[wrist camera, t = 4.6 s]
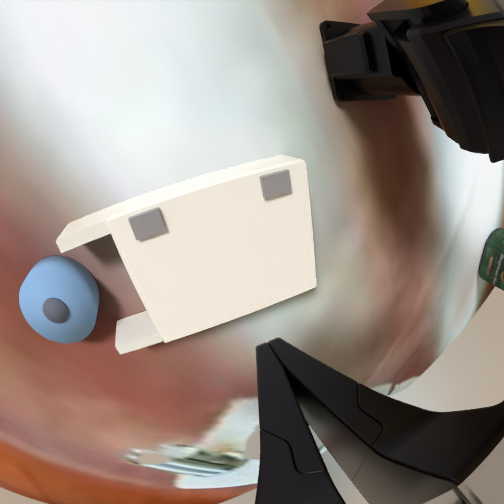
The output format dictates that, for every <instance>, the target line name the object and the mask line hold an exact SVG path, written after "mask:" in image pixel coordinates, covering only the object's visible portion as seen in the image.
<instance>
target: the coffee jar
mask: <svg viewBox="0 0 504 504" xmlns="http://www.w3.org/2000/svg"><path fill="white" fill-rule="evenodd" d="M479 275H480V277H481V278H482V279H484V280H485V281H487V282H489V283H490V284H492V285H494V286H496V287H498V288H500V289H502V290H504V229H503V228H498V229H496V230H494V231H493V232H492V234H491V236H490V237H489V239H488V240H487V243H486V246H485V249H484V253H483V257H482V261H481V265H480V270H479Z"/></svg>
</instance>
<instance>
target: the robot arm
mask: <svg viewBox="0 0 504 504" xmlns="http://www.w3.org/2000/svg"><path fill="white" fill-rule="evenodd" d="M367 15H368V16H369V18H370V19H371V20H372V21H373V22H370V23H366V24H363V25H360V24H353V23H345V22H336V21H324V22H322V23H320V31H321V35H322V39H323V46H324V51H325V56H326V61H327V66H328V71H329V74H330V79H331V84H332V90H333V96H334V98H335V100H337V101H354V100H377V99H395V98H396V96H397V95H407V96H422V98H423V100H424V102H425V104H426V106H427V108H428V110H429V112H430V115H431V120H432V122H433V124H434V125H436V126H437V127H439V128H441V129H442V130H444V131H445V133H446V135H447V136H448V137H449V138H451V139H452V140H454V141H455V142H456V143H458V144H459V145H460V148H461V149H463V150H467V151H470V152H473V153H481V154H489V158H490V161H491V162H492V163H495V162H498V161H501V160H504V0H384V1H383V2H381V3H380V4H378V5H377V6H376V7H374V8H373V9H372V10H370V11H369V12H367ZM325 25H327V26H328V29H327V28H326V26H325ZM339 93H341V95H342V96H341V97H340V96H339ZM256 364H257V384H258V404H259V424H260V466H259V476H258V484H257V492H256V500H255V504H346V503H345V501H344V500H343V498H342V497H341V495H340V493H339V492H338V490H337V489H336V487H335V485H334V483H333V481H332V479H331V477H330V475H329V473H328V470H327V468H326V465H325V463H324V461H323V459H322V456H321V454H320V452H319V449H318V447H317V445H316V442H315V440H314V438H313V435H312V433H311V431H310V428H309V426H308V424H307V422H308V423H309V425H310V426H311V428H312V429H313V430H314V432H315V433H316V435H317V436H318V437H319V439H320V440H321V442H322V443H323V444H324V446H325V447H326V448H327V450H328V451H329V452H330V454H331V455H332V456H333V458H334V459H335V460H336V462H337V463H338V465H339V466H340V467H341V468H342V470H343V471H344V472H345V474H346V475H347V476H348V478H349V479H350V480H351V481H352V483H353V484H354V485H355V487H356V488H357V489H358V490H359V492H360V493H361V494H362V496H363V497H364V498H365V499H366V501H367V502H368V503H369V504H504V400H503V401H502V402H501V403H499V404H497V405H494V406H490V407H484V408H478V409H470V410H462V411H452V412H434V411H429V410H425V409H422V408H419V407H416V406H413V405H410V404H407V403H404V402H401V401H398V400H395V399H393V398H390V397H388V396H385V395H383V394H380V393H378V392H376V391H374V390H372V389H370V388H368V387H366V386H364V385H362V384H360V383H359V384H358V382H356V381H355V380H353V379H351V378H349V377H347V376H345V375H343V374H342V373H340V372H338V371H336V370H334V369H333V368H331V367H329V366H327V365H325V364H324V363H322V362H320V361H318V360H317V359H315V358H313V357H311V356H310V355H308V354H306V353H305V352H303V351H301V350H299V349H298V348H296V347H294V346H293V345H291V344H289V343H288V342H286V341H284V340H283V339H281V338H275V339H272V340H270V341H268V343H266V342H265V343H263V344H260V345H258V346H256Z"/></svg>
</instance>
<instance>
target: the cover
mask: <svg viewBox="0 0 504 504" xmlns="http://www.w3.org/2000/svg"><path fill="white" fill-rule="evenodd" d="M106 223H107V225H108V228H109V230H110V233H111V235H112V238H113V240H114V242H115V245H116V247H117V249H118V251H119V254H120V256H121V258H122V260H123V263H124V265H125V267H126V269H127V271H128V273H129V276H130V278H131V280H132V282H133V284H134V286H135V288H136V290H137V292H138V294H139V296H140V298H141V300H142V302H143V304H144V306H145V308H146V310H147V312H148V313H149V315H150V317H151V319H152V321H153V323H154V325H155V326H156V328H157V330H158V332H159V334H160V335H161V337H162V339H163V341H164V342H165V343H166V342H169V341H172V340H175V339H179V338H182V337H185V336H188V335H190V334H193V333H196V332H199V331H202V330H205V329H208V328H211V327H214V326H216V325H219V324H222V323H225V322H228V321H230V320H233V319H236V318H239V317H241V316H244V315H247V314H249V313H252V312H255V311H257V310H260V309H263V308H265V307H268V306H270V305H273V304H275V303H278V302H281V301H283V300H286V299H288V298H291V297H293V296H296V295H298V294H300V293H303V292H305V291H308V290H310V289H313V288H315V287H316V274H315V258H314V244H313V231H312V219H311V208H310V198H309V189H308V179H307V171H306V162H305V161H304V160H301V159H299V160H295V161H290V162H286V163H282V164H278V165H274V166H270V167H266V168H262V169H258V170H254V171H250V172H247V173H243V174H239V175H236V176H232V177H228V178H225V179H221V180H218V181H215V182H211V183H208V184H204V185H201V186H198V187H195V188H191V189H188V190H185V191H182V192H179V193H176V194H173V195H170V196H167V197H164V198H161V199H158V200H155V201H152V202H149V203H146V204H143V205H140V206H138V207H135V208H132V209H129V210H127V211H124V212H121V213H118V214H116V215H113V216H111V217H108V218H107V220H106Z"/></svg>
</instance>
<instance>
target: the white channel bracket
mask: <svg viewBox="0 0 504 504" xmlns="http://www.w3.org/2000/svg"><path fill="white" fill-rule="evenodd" d="M295 160H299V159H298V158H294V157H290V156H287V155H283V154H281V155H277V156H272V157H268V158H264V159H260V160H256V161H252V162H248V163H244V164H240V165H236V166H233V167H229V168H225V169H222V170H218V171H215V172H211V173H208V174H204V175H201V176H198V177H194V178H191V179H188V180H184V181H181V182H178V183H175V184H172V185H169V186H166V187H163V188H160V189H157V190H154V191H151V192H148V193H145V194H142V195H139V196H137V197H134V198H131V199H128V200H126V201H123V202H120V203H118V204H115V205H112V206H110V207H107V208H104V209H102V210H99V211H97V212H94V213H92V214H89V215H87V216H85V217H82V218H80V219H77V220H75V221H73V222H70V223H68V225H67V226H66V227H65V229H64V230H63V231H62V233H61V234H60V236H59V237H58V238H57V240H56V243H57V245H58V247H59V249H60V251H61V253H63V252H65V251H68V250H70V249H73V248H75V247H78V246H80V245H83V244H85V243H88V242H90V241H93V240H95V239H98V238H100V237H103V236H106V235H108V234H111V233H110V230H109V228H108V225H107V223H106V220H107V218H108V217H111V216H113V215H116V214H118V213H121V212H124V211H127V210H129V209H132V208H135V207H138V206H140V205H143V204H146V203H149V202H152V201H155V200H158V199H161V198H164V197H167V196H170V195H173V194H176V193H179V192H182V191H185V190H188V189H191V188H195V187H198V186H201V185H204V184H208V183H211V182H215V181H218V180H221V179H225V178H228V177H232V176H236V175H239V174H243V173H247V172H250V171H254V170H258V169H262V168H266V167H270V166H274V165H278V164H282V163H286V162H290V161H295ZM316 285H317V280H316ZM162 341H163V339H162V337H161V335H160V334H159V332H158V330H157V328H156V326H155V325H154V323H153V321H152V319H151V317H150V315H149V313H148V312H147V311H144V312H141V313H138V314H135V315H132V316H129V317H126V318H123V319H120V320H117V326H116V341H115V347H116V349H117V350H118V352H119V353H120V354H124V353H127V352H130V351H134V350H137V349H140V348H143V347H147V346H150V345H153V344H156V343H159V342H162Z"/></svg>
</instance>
